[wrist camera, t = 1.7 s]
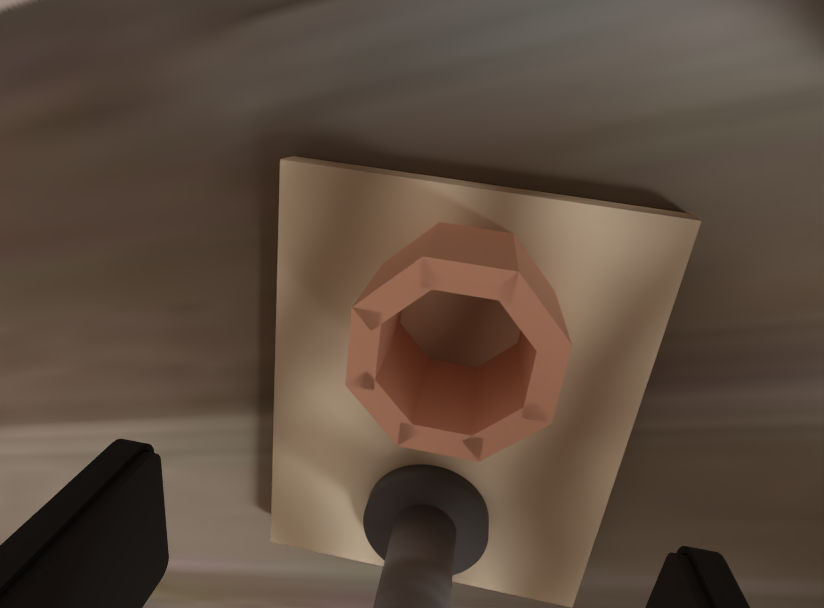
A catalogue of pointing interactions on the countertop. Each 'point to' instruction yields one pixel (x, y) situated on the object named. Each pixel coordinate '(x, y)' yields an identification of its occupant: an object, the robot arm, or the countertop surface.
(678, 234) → the post board
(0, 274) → the countertop surface
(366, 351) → the collar
